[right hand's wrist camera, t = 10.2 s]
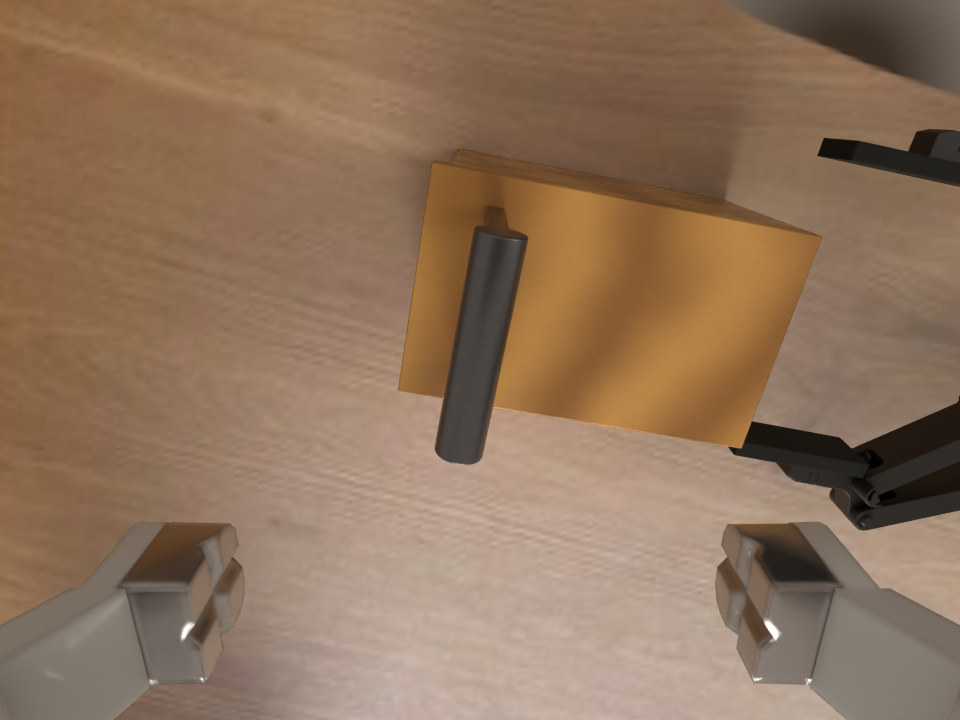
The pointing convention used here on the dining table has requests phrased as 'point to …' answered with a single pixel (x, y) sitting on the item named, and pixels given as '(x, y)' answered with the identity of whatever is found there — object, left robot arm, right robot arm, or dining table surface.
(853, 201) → the dining table surface
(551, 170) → the chest
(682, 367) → the lid
